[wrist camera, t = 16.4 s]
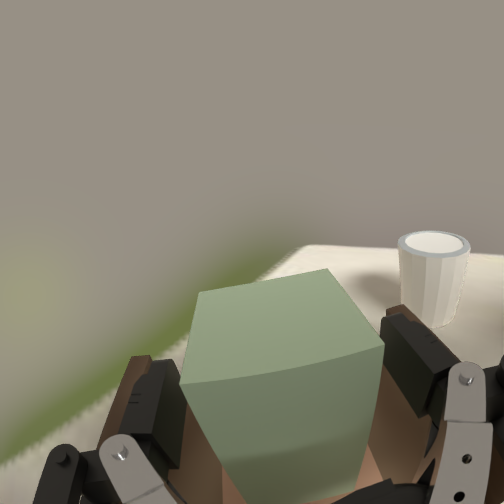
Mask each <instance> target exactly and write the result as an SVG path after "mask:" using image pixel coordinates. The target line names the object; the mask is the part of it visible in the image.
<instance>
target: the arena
mask: <svg viewBox="0 0 504 504" xmlns="http://www.w3.org/2000/svg"><path fill="white" fill-rule="evenodd" d="M398 312H401V313H403V314H404V315H405V316H406V317H407V319H408V320H409V321H410V322H411V321H416V322H418V323H420V324H422V325H424V326H426V325H425V324H424V323H423V322H422V321H421V320H420V319H419V318H418V317H417V316H416V315H415V314H413V313H412V312H411V311H410V310H409V309H408V308H407V307H406V306H405V305H404V304H402V305H398V306H395V307H392V308H389V309H386V316H389V315H392V314H395V313H398ZM426 327H427V326H426ZM427 328H428V327H427ZM428 329H429V328H428ZM429 330H430V329H429ZM430 331H431V330H430ZM431 332H432V331H431ZM432 335H434V336H435V337H436V338H437V339H438V341H440V342H441V343H442V344H443V345H444V346H445V347H446V348H447V349H448V350H449V348H448V347H447V346H446V345H445V344H444V343H443V342H442V341H441V340H440V339H439V338H438V337H437V336H436V335H435V334H434V333H433V332H432ZM449 351H450V350H449ZM450 352H451V351H450ZM451 353H452V352H451ZM452 354H453V353H452ZM453 355H454V354H453ZM454 356H455V355H454ZM455 357H456V356H455ZM456 358H457V357H456ZM457 359H458V358H457ZM458 361H459V362H461V361H460V360H459V359H458ZM151 362H152V359H151V357H150V355H145V356H134V357H131V359H130V361H129V364H128V366H127V369H126V371H125V374H124V376H123V378H122V381H121V383H120V386H119V388H118V391H117V393H116V396H115V399H114V401H113V404H112V406H111V409H110V412H109V414H108V417H107V420H106V423H105V425H104V428H103V431H102V434H101V437H100V440H99V442H98V445H97V448H96V450H98V449H100V447H101V445H102V444H103V442H104V441H105V440H107V439H108V438H110V437H111V436H114V435H117V434H118V431H119V428H120V424H121V421H122V418H123V415H124V412H125V409H126V406H127V404H128V400H129V397H130V396H131V392H132V389H133V386H134V383H135V382H136V381H137V380H138V379H139V378H140V376H141V375H142V374H148V371H149V368H150V365H151ZM430 421H431V417H430V416H429V414H428V415H426V416H424V417H422V418H419V419H418V417H417V416H416V414H415V412H414V411H413V409H412V408H411V406H410V404H409V403H408V401H407V400H406V398H405V397H404V395H403V393H402V392H401V390H400V389H399V387H398V386H397V384H396V383H395V381H394V380H393V378H392V377H391V375H390V373H389V372H388V370H387V369H386V367H385V366H384V364H382V371H381V378H380V384H379V390H378V396H377V401H376V407H375V412H374V417H373V421H372V426H371V430H370V435H369V439H368V443H367V444H368V446H369V448H370V451H371V453H372V455H373V458H374V460H375V462H376V465H377V467H378V469H379V472H380V474H381V476H382V479H383V480H386V479H389V478H391V480H392V482H393V484H400V483H412V481H413V479H414V476H415V474H416V472H417V469H418V467H419V464H420V461H421V458H422V454H423V450H424V446H425V442H426V437H427V433H428V428H429V423H430ZM168 479H169V480H170V481H171V482H172V484H173V485H174V486H175V487H176V489H177V490H178V491H179V492H180V494H181V495H182V496H183V497H184V498H185V500H186V501H187V502H188V503H189V504H223V491H222V464H221V462H220V461H219V459H218V457H217V456H216V454H215V452H214V451H213V449H212V447H211V445H210V444H209V442H208V440H207V438H206V436H205V435H204V433H203V431H202V429H201V427H200V425H199V423H198V421H197V419H196V418H195V416H194V414H193V412H192V410H191V408H190V406H189V404H188V402H187V408H186V416H185V424H184V432H183V441H182V449H181V459H180V468H179V469H169V472H168ZM80 501H81V500H80ZM503 501H504V462H503V460H502V458H501V456H500V455H499V453H498V451H497V450H496V448H495V446H494V445H493V443H492V451H491V462H490V470H489V477H488V484H487V490H486V495H485V500H484V504H501V503H502V502H503ZM119 504H122V501H119Z"/></svg>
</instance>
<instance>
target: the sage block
mask: <svg viewBox="0 0 504 504" xmlns="http://www.w3.org/2000/svg"><path fill="white" fill-rule="evenodd" d="M384 348H385V344H384V342H383V341H382V339H381V338H380V337H379V335H378V334H377V333H376V331H375V330H374V329H373V327H372V326H371V325H370V323H369V322H368V321H367V319H366V318H365V317H364V315H363V314H362V313H361V311H360V310H359V309H358V307H357V306H356V305H355V303H354V302H353V301H352V299H351V298H350V297H349V296H348V294H347V293H346V292H345V290H344V289H343V288H342V286H341V285H340V284H339V283H338V281H337V280H336V279H335V278H334V276H333V275H332V274H331V273H330V271H329V270H328V269H322V270H317V271H312V272H307V273H302V274H297V275H292V276H287V277H281V278H276V279H271V280H265V281H260V282H255V283H249V284H244V285H238V286H233V287H227V288H221V289H216V290H210V291H204V292H199V296H198V300H197V304H196V309H195V313H194V317H193V321H192V326H191V330H190V335H189V339H188V344H187V349H186V353H185V358H184V363H183V368H182V373H181V378H180V383H179V385H180V387H181V389H182V391H183V393H184V396H185V398H186V400H187V402H188V404H189V406H190V408H191V410H192V412H193V414H194V416H195V418H196V419H197V421H198V423H199V425H200V427H201V429H202V431H203V433H204V435H205V436H206V438H207V440H208V442H209V444H210V445H211V447H212V449H213V451H214V452H215V454H216V456H217V457H218V459H219V461H220V462H221V464H222V466H223V467H224V469H225V471H226V472H227V474H228V476H229V477H230V479H231V480H232V482H233V483H234V485H235V487H236V488H237V490H238V491H239V493H240V494H241V496H242V497H243V499H244V500H245V501H246V503H247V504H302V503H307V502H312V501H316V500H321V499H325V498H329V497H333V496H337V495H340V494H344V493H347V492H351V491H354V488H355V485H356V482H357V479H358V475H359V472H360V469H361V465H362V462H363V458H364V454H365V451H366V447H367V443H368V439H369V435H370V430H371V426H372V421H373V417H374V412H375V407H376V401H377V396H378V390H379V384H380V378H381V371H382V364H383V356H384Z"/></svg>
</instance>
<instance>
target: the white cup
mask: <svg viewBox="0 0 504 504" xmlns="http://www.w3.org/2000/svg"><path fill="white" fill-rule="evenodd" d="M398 252H399V266H400V285H401V305H402V304H404V305H405V306H406V307H407V308H408V309H409V310H410V311H411V312H412V313H413V314H415V315H416V316H417V317H418V318H419V319H420V320H421V321H422V322H423V323H424V324H425V325H426V326H427V327H428V328H431V329H432V328H438V327H443V326H445V325H447V324H448V323H450V322H451V321H452V319H453V318H454V316H455V313H456V309H457V306H458V302H459V298H460V294H461V290H462V286H463V282H464V278H465V273H466V269H467V264H468V259H469V253H470V244H469V242H468V241H467V240H466V239H464V238H463V237H461V236H459V235H456V234H453V233H448V232H443V231H416V232H412V233H409V234H405V235H404V236H403V237H401V238H399V241H398Z"/></svg>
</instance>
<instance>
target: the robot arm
mask: <svg viewBox="0 0 504 504" xmlns="http://www.w3.org/2000/svg"><path fill="white" fill-rule="evenodd" d="M380 338H381V339H382V341H383V342H384V344H385V348H384V356H383V364H384V366H385V367H386V369H387V370H388V372H389V373H390V375H391V377H392V378H393V380H394V381H395V383H396V384H397V386H398V387H399V389H400V390H401V392H402V393H403V395H404V397H405V398H406V400H407V401H408V403H409V404H410V406H411V408H412V409H413V411H414V412H415V414H416V416H417V417H418V419H419V418H422V417H424V416H426V415H428V414H429V416H430V417H431V421H430V423H429V428H428V433H427V437H426V442H425V446H424V450H423V454H422V458H421V461H420V464H419V467H418V469H417V472H416V474H415V476H414V479H413V481H412V483H400V484H393V482H392V480H391V478H389V479H386V480H383V481H381V482H378V483H375V484H373V485H370V486H367V487H364V488H361V489H358V490H356V491H354V492H352V493H351V494H349V495H347V496H345V497H343V498H341V499H339V500H337V501H335V502H333V503H331V504H484V500H485V495H486V490H487V484H488V477H489V470H490V462H491V451H492V443H493V445H494V446H495V448H496V450H497V451H498V453H499V455H500V456H501V458H502V460H503V462H504V355H503V357H502V359H501V361H500V364H499V365H498V366H494V367H490V368H485V369H482V368H481V367H479V366H478V365H477V364H474V363H471V362H459V361H458V359H457V358H456V357H455V356H454V355H453V354H452V353H451V352H450V351H449V350H448V349H447V348H446V347H445V346H444V345H443V344H442V343H441V342H440V341H438V339H437V338H436V337H435V336H434V335H432V332H431V331H430V330H429V329H428V328H427V327H426V326H424V325H422V324H420V323H418V322H416V321H411V322H410V321H409V320H408V319H407V317H406V316H405V315H404V314H403V313H401V312H398V313H395V314H392V315H389V316H385V317H383V318H382V320H381V328H380ZM180 378H181V376H180V374H179V372H178V370H177V367H176V365H175V363H174V361H173V360H172V359H166V360H155V361H152V362H151V365H150V368H149V371H148V374H142V375H141V376H140V378H139V379H138V380H137V381H136V382H135V383H134V386H133V389H132V392H131V396H130V397H129V400H128V404H127V406H126V409H125V412H124V415H123V418H122V421H121V424H120V428H119V431H118V434H117V435H114V436H111V437H110V438H108V439H107V440H105V441H104V442H103V444H102V445H101V447H100V449H98V450H93V451H87V452H81V453H80V452H79V451H78V450H77V449H76V448H75V447H74V446H72V445H70V444H61V445H58V446H56V447H55V448H54V449H52V451H51V452H50V453H49V455H48V458H47V461H46V463H45V466H44V469H43V472H42V475H41V478H40V481H39V484H38V487H37V491H36V494H35V497H34V501H33V504H79V501H80V496H81V495H82V497H81V501H80V504H119V501H122V504H189V503H188V502H187V501H186V500H185V498H184V497H183V496H182V495H181V494H180V492H179V491H178V490H177V489H176V487H175V486H174V485H173V484H172V482H171V481H170V480H169V479H168V472H169V469H179V468H180V459H181V449H182V441H183V432H184V424H185V416H186V408H187V400H186V398H185V396H184V393H183V391H182V389H181V387H180V385H179V383H180Z"/></svg>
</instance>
